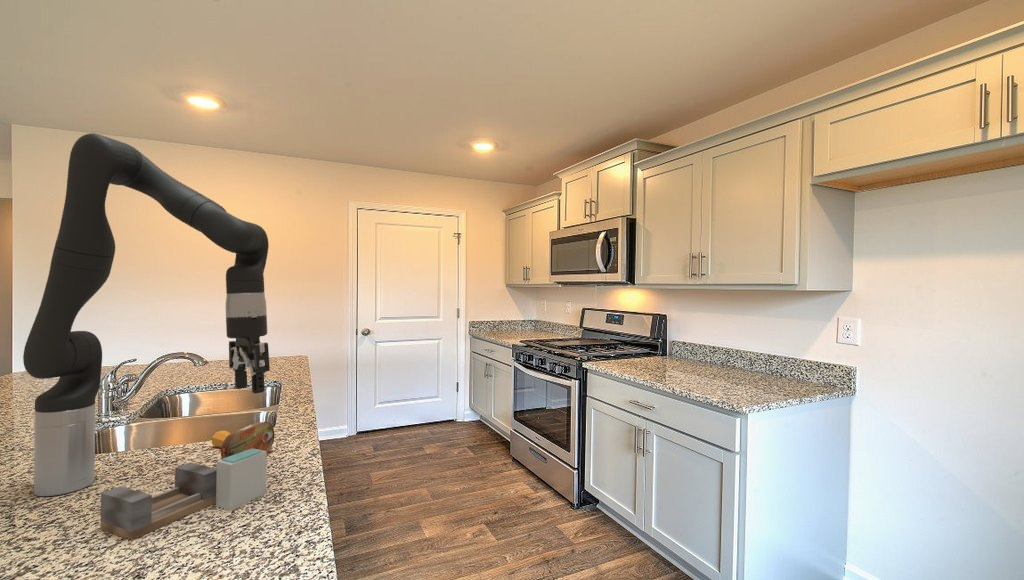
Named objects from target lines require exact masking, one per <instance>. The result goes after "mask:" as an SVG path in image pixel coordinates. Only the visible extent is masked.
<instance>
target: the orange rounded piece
mask: <svg viewBox="0 0 1024 580" xmlns="http://www.w3.org/2000/svg"><path fill="white" fill-rule="evenodd" d="M231 433H232V432H231ZM231 433H230V432H229V431H227V430H220V431H215V433H214V434H213V435H212V437H211V443H212V444H213V445H214V446H215V447H217V448H219V449H221V446H222V444H223V442H224V440H225V439H226V437H227V436H228V435H229V434H231ZM267 456H270V454H269V453H267Z"/></svg>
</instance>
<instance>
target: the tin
mask: <svg viewBox="0 0 1024 580" xmlns="http://www.w3.org/2000/svg"><path fill="white" fill-rule="evenodd" d="M274 442H275V429H274V426H273V425H272V424H271V423H270V422H269V421H257V422H254V423H251V424H249V425H246V426H245V427H243V428H240V429H237V430H235V431H233V432H231V434H229V435H228V436H227V437H226V439H225V440H224V442H223V444H222V446H221V448H220V457H221V460H222V459H224V458H226V457H229V456H232V455H235V454H237V453H240V452H243V451H246V450H249V449H258V450H263V451H267V453H268V452H269V451H270V450H271V449H272V446H273V444H274Z"/></svg>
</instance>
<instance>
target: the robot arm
mask: <svg viewBox="0 0 1024 580" xmlns="http://www.w3.org/2000/svg"><path fill="white" fill-rule="evenodd" d="M110 185H115V186H123V187H126V188H129V189H132V190H134V191H137V192H140V193H141V194H144V195H146V196H148V197H150V198H152V199H153V200H154V201H156V202H157V203H158V204H160V206H161V207H162V208H163V209H164V210H165V211H166V212H167V213H169V214H170V215H171V216H172V217H174V218H176V219H177V220H178V221H180V222H182V223H184V224H186V225H187V226H188V227H190V228H192V229H195V230H196V231H197V232H200V233H201V234H202V235H204V236H205V237H206V238H208V240H210V241H211V242H212V243H214V244H215V245H216V246H218V247H220V249H223V250H225V251H227V252H230V253H232V254H233V253H234V254H235V259H234V265H232V266H230V267H228V268H227V270H226V271H225V272H226V273H225V289H226V290H225V293H226V294H225V295H226V297H225V298H226V299H225V325H226V337H227V338H228V339H235V340H229V341H228V366H229V369H232V371H233V373H234V388H235V389H237V390H241V389H246V388H247V387H248V372H247V368H248V369H249V371H250V374H251V375H250V376H251V378H250V379H251V393H252V394H260V393H264V392H265V391H266V390H265V374H266V373H267V372H270V370H271V369H270V368H271V367H270V352H269V351H270V350H269V343H268V342H261V339H260V337H265V336H266V335H267V334H268V320H267V319H268V316H267V300H266V297H265V296H266V293H265V277H264V276H265V275H264V272H265V269H266V265H267V259H268V253H269V238H268V235H267V232H266V231H265V229H264V228H263V227H262V226H261V225H259V224H256V223H253V222H250V221H246V220H242V219H240V218H238V217H236V216H234V215H233V214H231V213H230V212H228V211H227V210H226V209H225V208H224V207H223V206H222V205H220V204H219V203H217V202H216V201H214V200H213V199H211V198H209V197H207V196H206V195H203V194H202V193H200V192H199V191H197V190H195V189H193V188H192V187H189V186H188V185H186V184H184V183H182V182H181V181H179V180H177V179H176V178H175V177H172V176H171V174H170V175H169V174H168V173H167V172H165V171H164V170H163V169H162V168H160V167H159V166H158V165H157V164H155V163H154V162H153V161H151V160H150V158H148V157H147V156H145V155H144V154H143V153H142V152H141V151H139V150H138V149H136V148H135V147H134V146H132V145H130V144H129V143H126V142H123V141H120V140H117V139H114V138H111V137H108V136H106V135H102V134H99V133H87V134H84V135H83V134H82V136H80V137H79V138H78V139H76V141H75V142H74V144H73V145H72V148H71V151H70V154H69V161H68V169H67V179H66V191H65V198H64V203H63V204H64V205H63V209H62V214H61V221H60V224H59V229H58V233H57V237H56V240H55V243H54V248H53V252H52V257H51V259H50V260H51V261H50V264H49V270H48V271H49V272H48V276H47V280H46V283H45V288H44V291H43V294H42V298H41V301H40V304H39V308H38V310H37V313H36V315H35V319H34V321H33V323H32V325H31V326H32V327H31V328H30V330H29V334H28V336H27V339H26V342H25V345H24V349H23V356H22V359H23V362H22V363H23V367H24V369H25V371H26V372H27V374H29V376H31V377H32V378H35V379H39V380H43V379H44V380H45V379H52V378H59V379H58V381H57V382H56V383H55V384H54V385H53V386H52V387H51V388H49V389H47V390H46V391H44V392H42V393H40V394H39V395H38V396H37V397H36V398H35V400H34V443H33V444H34V445H33V451H34V454H33V455H34V456H33V457H34V458H33V462H34V463H33V494H34V495H35V496H37V497H52V496H60V495H65V494H69V493H72V492H76V491H79V490H81V489H85V488H86V487H89V486H90V485H92V484H93V483H94V482H95V464H96V463H95V459H96V458H95V457H96V455H95V454H96V453H95V450H96V447H95V446H96V445H95V444H96V442H95V441H96V439H95V438H96V397H97V394H98V393H99V390H100V387H101V379H102V378H101V376H102V365H103V348H102V344H101V340H100V339H99V338H98V337H97V335H95V334H94V333H92V332H90V331H88V330H75V331H72V327H73V325H74V323H75V320H76V318H77V316H78V314H79V313H80V311H81V310H82V308H83V307H84V306H86V304H87V303H88V302H89V301H90V300H91V299H92V298H93V297H94V296H95V295H96V294H97V293H98V292H99V290H100V289H101V288H102V287H103V286H104V284H105V283H106V282H107V281H108V278H109V277H110V274H111V271H112V266H113V263H114V262H113V261H114V260H115V255H116V241H115V237H114V234H113V232H112V228H111V225H110V222H109V220H108V216H107V213H106V201H107V200H106V199H107V194H108V189H109V186H110Z"/></svg>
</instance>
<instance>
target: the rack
mask: <svg viewBox="0 0 1024 580" xmlns="http://www.w3.org/2000/svg"><path fill="white" fill-rule="evenodd" d="M216 480H217V467H216V468H215V467H212V466H208V465H204V464H200V463H199V464H198V463H195V462H187V463H184V464H181V465H178V466H176V467H174V487H173V488H171V489H168V490H166V491H163V492H160V493H158V494H155V495H152V494H149V493H146V492H142V491H139V490H135V489H132V488H128V487H125V486H118V487H115V488H112V489H108V490H106V491H103V492H100V530H101V529H102V530H101V531H104V532H106V533H110V534H113V535H115V536H119V537H121V538H123V539H126V538H128V539H127V540H129V539H131V540H130V541H134V540H136V539H139V538H140V537H143V536H145V535H147V534H149V533H151V531H152V532H153V531H156V530H158V529H160V528H162V527H163V528H164V527H165V526H167V525H169V523H170V524H172V523H174V522H176V521H178V519H179V520H180V518H181V519H183V518H185V517H187V516H190V515H192V514H194V513H196V512H199V511H200V509H201V510H202V509H205V508H207V506H208V507H210V506H212V505H214V504H216ZM209 505H210V506H209ZM198 510H199V511H198ZM193 512H194V513H193ZM191 513H192V514H191ZM189 514H190V515H189ZM186 515H187V516H186ZM184 516H185V517H184ZM182 517H183V518H182ZM171 522H172V523H171ZM135 538H136V539H135ZM133 539H134V540H133Z"/></svg>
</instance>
